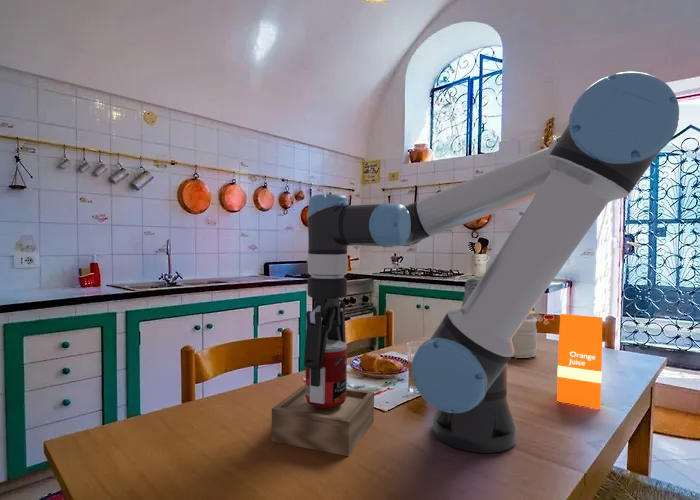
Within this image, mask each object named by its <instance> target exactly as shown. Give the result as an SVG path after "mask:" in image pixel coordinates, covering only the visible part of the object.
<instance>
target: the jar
mask: <svg viewBox="0 0 700 500" xmlns="http://www.w3.org/2000/svg"><path fill="white" fill-rule="evenodd" d="M534 314H536V312H535V310H533V309H532V310H531V312H530V313H529V315H528V316H527V318H526V319H525V320H524V322H523V323H522V325H521V326H520V327H519V329H518V330H517V332H516V333H515V334H514V336H513V337H512V343H513V348H514V354H513V356H512V357H521V358H526V357H533V356H535V355H536V356H537V352H538V351H537V350H538V349H537V335H538V334H537V332H538V329H537V325H536V323H537V322H538V319H537V317H535V315H534ZM536 356H535V357H536Z"/></svg>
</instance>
